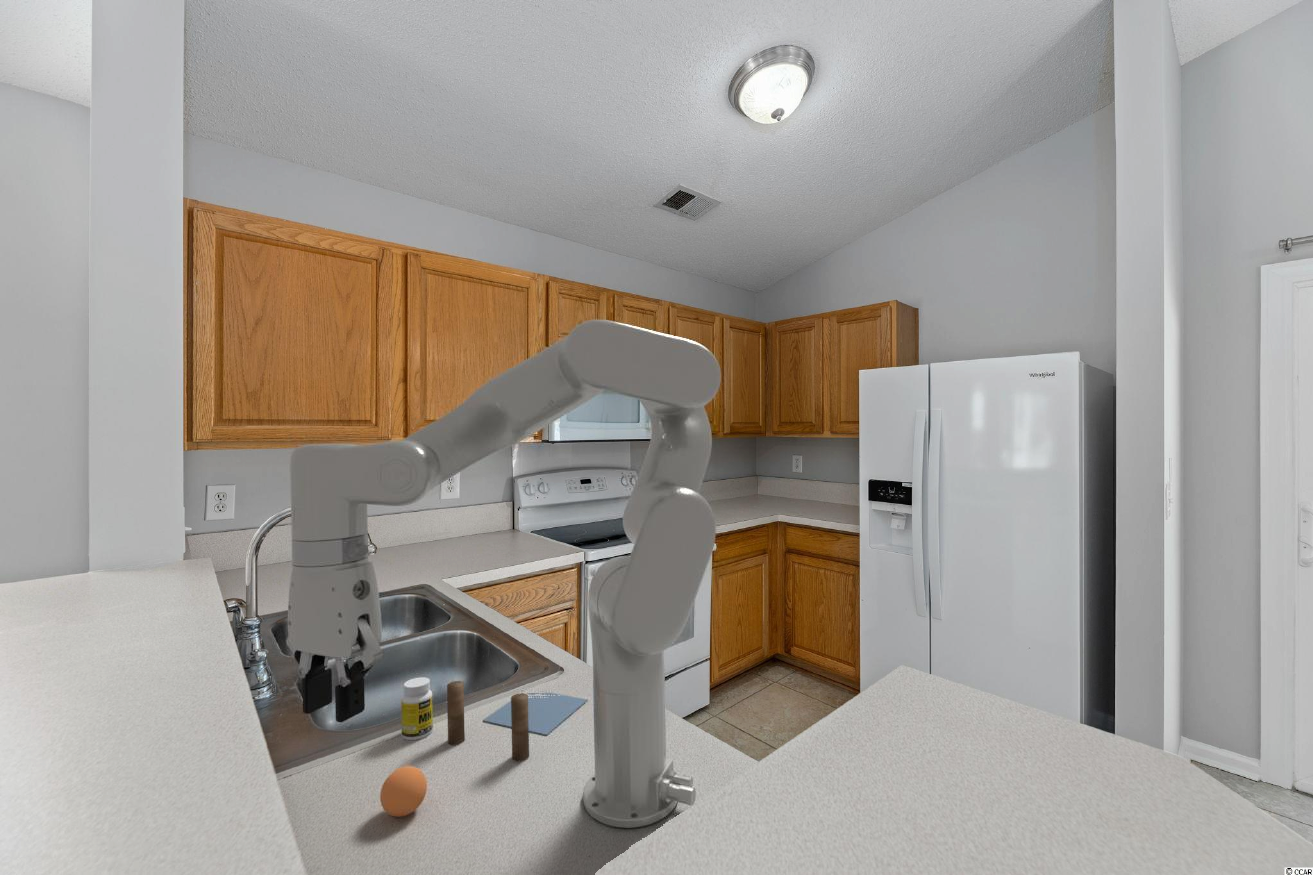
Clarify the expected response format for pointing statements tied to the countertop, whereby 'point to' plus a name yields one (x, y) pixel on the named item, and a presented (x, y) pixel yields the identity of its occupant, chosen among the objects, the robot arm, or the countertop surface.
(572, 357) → the robot arm
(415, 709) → the supplement bottle
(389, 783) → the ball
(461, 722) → the post far
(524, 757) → the post near
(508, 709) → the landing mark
